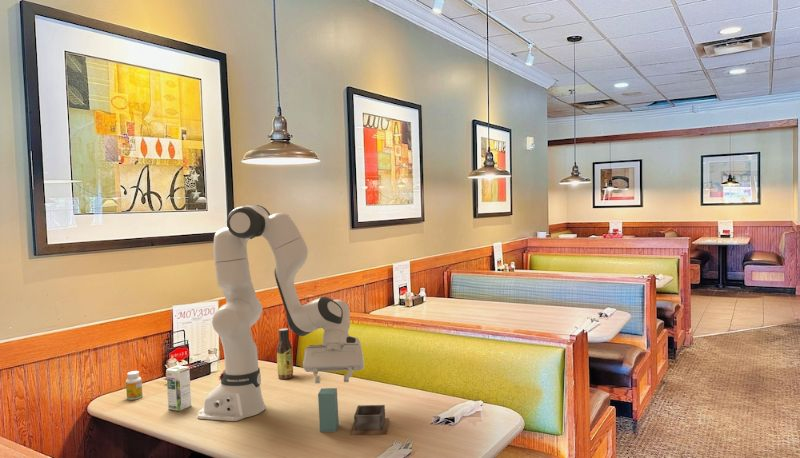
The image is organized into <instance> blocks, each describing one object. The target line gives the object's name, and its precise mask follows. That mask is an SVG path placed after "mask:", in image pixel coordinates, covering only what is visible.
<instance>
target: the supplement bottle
mask: <svg viewBox="0 0 800 458" xmlns="http://www.w3.org/2000/svg"><path fill="white" fill-rule="evenodd" d="M142 381H143V380H142V377H141V376H140V371H139V370H131V371H129V372H127V379H126V380H125V388H126V391H125V392H126V399H127V400H129V401H132V400H133V401H134V400H139V399H141V398H143V395H144V394H143V382H142Z"/></svg>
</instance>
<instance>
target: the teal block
mask: <svg viewBox="0 0 800 458" xmlns="http://www.w3.org/2000/svg"><path fill="white" fill-rule="evenodd" d="M317 397H318V401H317V402H318V417H319V432H320V433H333V432H334V433H335V432H337V430H338V429H339V425H340V424H339V423H340V422H339V405H338V404H339V403H338V401H339V400H338V387H333V388H332V387H328V388H327V387H326V388H320V390H319V391H318V394H317Z"/></svg>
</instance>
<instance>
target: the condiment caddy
mask: <svg viewBox="0 0 800 458" xmlns="http://www.w3.org/2000/svg"><path fill="white" fill-rule="evenodd" d="M385 408H386V405H385V404H371V405H370V404H368V405H367V404H366V405H363V404H362V405H357V407H356V410H355V413H354V415H353V423H352V427H351V429H350V435H351V436H353V435H354V436H356V435H357V436H358V435H361V436H362V435H363V436H365V435H388V429H389V424H390V417H386V409H385Z"/></svg>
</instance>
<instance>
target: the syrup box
mask: <svg viewBox="0 0 800 458" xmlns="http://www.w3.org/2000/svg"><path fill="white" fill-rule="evenodd" d="M165 371H166V387H167V389H166V391H167V407H168V410H172V411H178V412H181V411H183V410H185V409H187V408H189V407H191V406H192V396H191V394H192V391H191V376H190V366H183V365H175V366H171V367H168V368H167V369H166V370H165Z"/></svg>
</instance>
